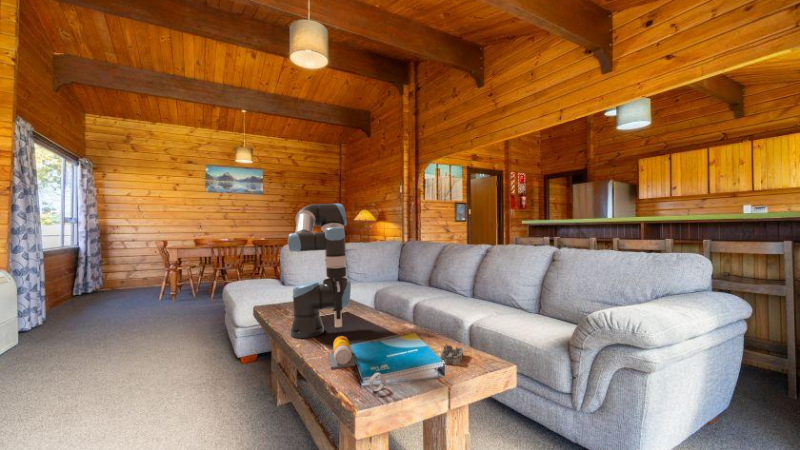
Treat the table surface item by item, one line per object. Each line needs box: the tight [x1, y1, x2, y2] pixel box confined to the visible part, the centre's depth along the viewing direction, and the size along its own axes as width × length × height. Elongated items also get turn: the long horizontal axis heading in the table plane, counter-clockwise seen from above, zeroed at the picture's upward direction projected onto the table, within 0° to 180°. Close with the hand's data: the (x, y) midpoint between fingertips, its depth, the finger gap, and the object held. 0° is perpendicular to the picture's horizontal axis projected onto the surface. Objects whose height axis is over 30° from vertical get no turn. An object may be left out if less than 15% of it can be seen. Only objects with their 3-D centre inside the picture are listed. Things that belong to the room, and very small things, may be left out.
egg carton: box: [440, 343, 465, 366], centre depth 131 cm, size 11×8×4 cm
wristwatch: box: [368, 372, 387, 392], centre depth 109 cm, size 3×5×5 cm, turn 134°
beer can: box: [332, 335, 352, 365], centre depth 134 cm, size 6×6×15 cm
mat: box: [327, 351, 356, 370], centre depth 133 cm, size 13×9×1 cm
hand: (338, 326), depth 141 cm, fingers closed
